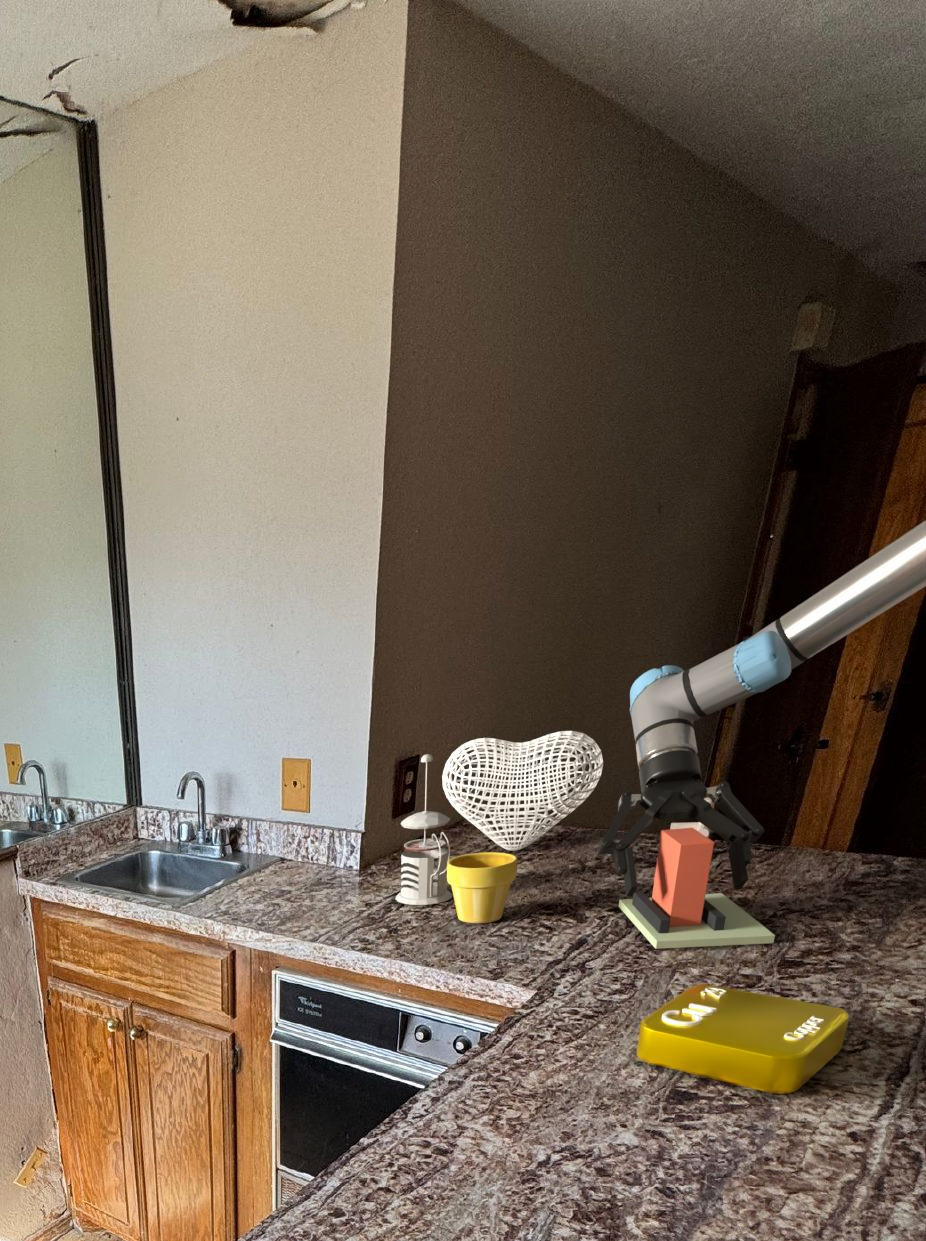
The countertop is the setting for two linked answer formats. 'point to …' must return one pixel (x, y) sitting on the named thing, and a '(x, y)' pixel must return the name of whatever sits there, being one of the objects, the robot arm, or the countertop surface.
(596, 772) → the heart
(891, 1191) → the countertop surface
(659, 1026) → the element tile
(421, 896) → the french press
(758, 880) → the countertop surface
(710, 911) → the base pad
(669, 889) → the salmon orange rectangular block
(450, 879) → the flower pot
